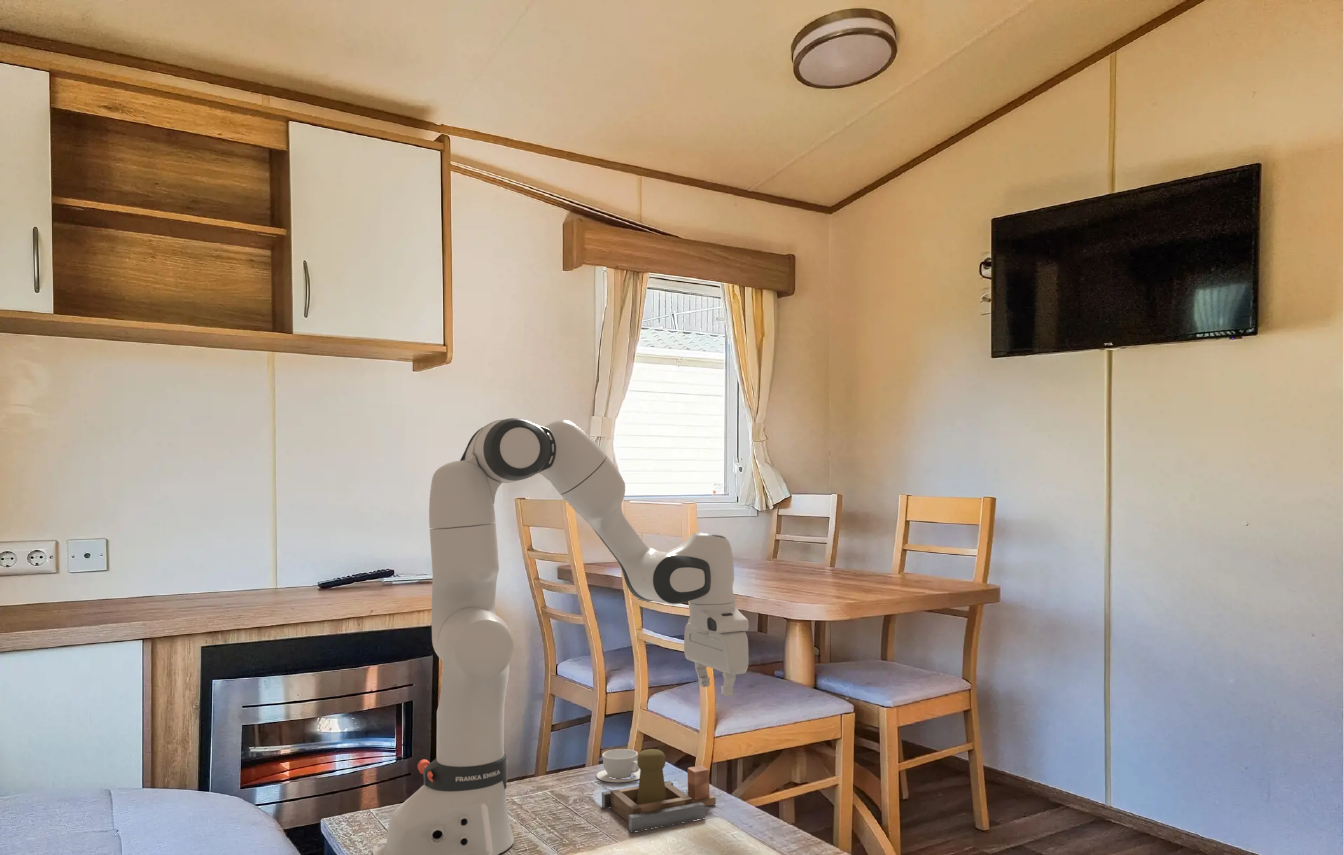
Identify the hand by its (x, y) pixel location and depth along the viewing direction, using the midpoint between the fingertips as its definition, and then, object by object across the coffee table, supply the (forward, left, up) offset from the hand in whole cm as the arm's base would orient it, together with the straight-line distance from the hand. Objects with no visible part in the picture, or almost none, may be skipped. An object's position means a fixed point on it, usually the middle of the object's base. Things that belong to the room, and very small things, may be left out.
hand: (715, 690), depth 164 cm
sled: (-11, 0, -20) cm, 23 cm away
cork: (-14, 0, -21) cm, 25 cm away
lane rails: (-14, 0, -20) cm, 24 cm away
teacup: (-11, +23, -21) cm, 33 cm away
